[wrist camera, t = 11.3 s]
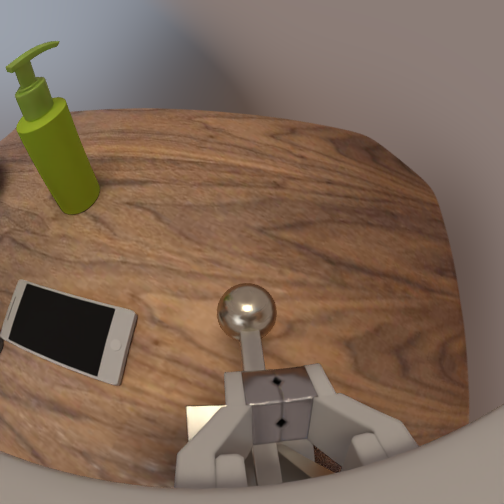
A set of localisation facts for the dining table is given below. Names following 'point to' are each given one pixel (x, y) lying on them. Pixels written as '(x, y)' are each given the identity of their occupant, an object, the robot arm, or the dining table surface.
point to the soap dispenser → (52, 138)
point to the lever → (252, 354)
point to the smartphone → (70, 330)
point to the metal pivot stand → (290, 452)
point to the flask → (1, 344)
